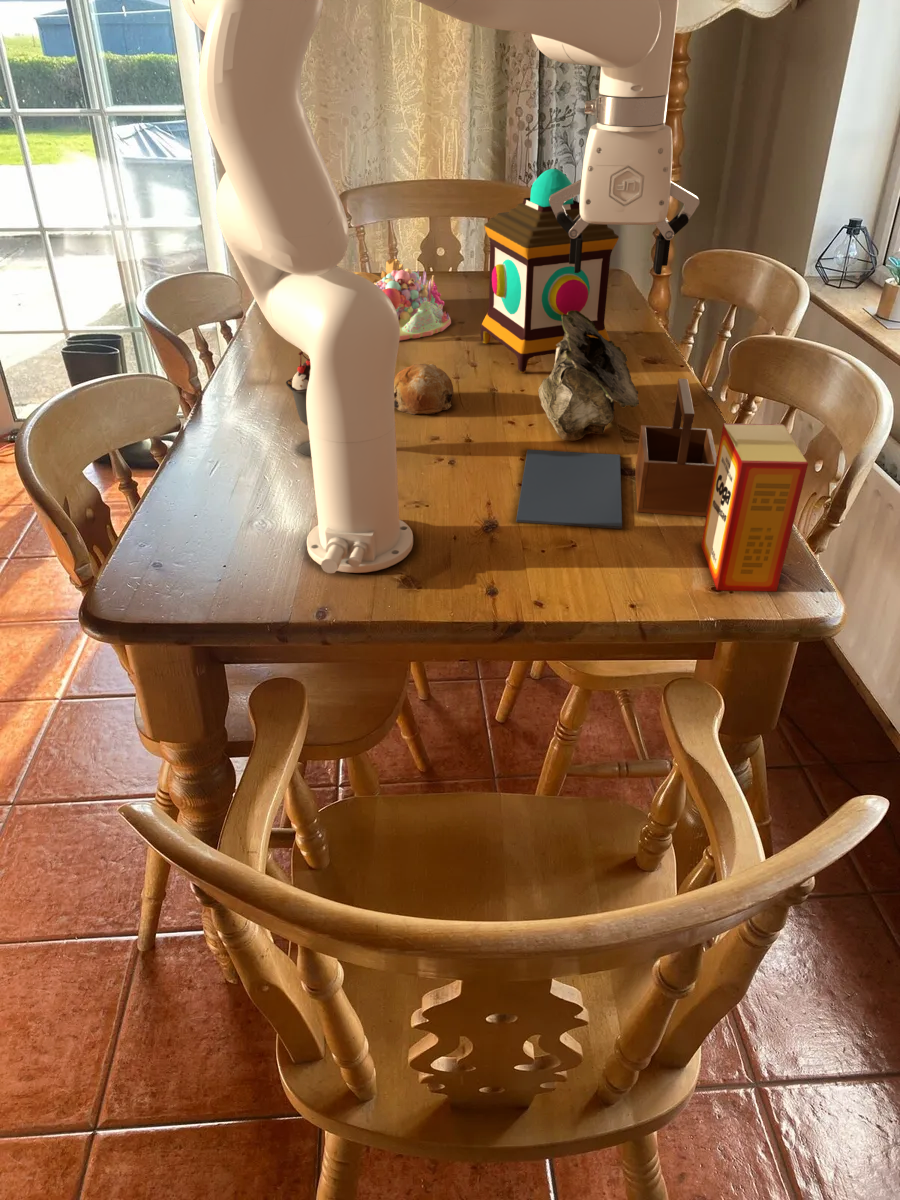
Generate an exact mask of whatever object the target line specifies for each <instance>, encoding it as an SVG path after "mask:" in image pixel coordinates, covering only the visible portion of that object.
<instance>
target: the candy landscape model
mask: <svg viewBox="0 0 900 1200" xmlns="http://www.w3.org/2000/svg"><path fill="white" fill-rule="evenodd" d="M419 270H420V269H417V271H412V269H411V268H409V267H408V268H405V269H404V264H403V263H401V261H400V260H398V259H397V258H389V259H388V260H386V263H385V271H384V270H381V273H380V276H379V275H377V274H376V273H372V272H364V271H352V272H353V273H355V274H357V275H359V276H361V277H364V278H366V279H367V280H369V281H371V282H372V283H374V284H375V285H376V286H378V287H379V288H380V289H381V290H382V291H383V292H384V293H385V294H386V295H387V296H388V297H389V299H390V300H391V302H392V304H393V305H394V307H395V310H396V312H397V315H398V319H399V326H400V339H399V341H406V340H410V339H420V338H423V337H430V336H433V335H434V334H438V333H442V332H443V331H445V330H446V329H447V328H448V327H449V326H450V325H451V324H452V319H451V316H450V315H449V312H447V313H446V311H444V310H443V309H444V306H445V301H444V300H442V299H441V298H440V297H441V296H442V294H441V292H439V291H438V285H437V283H435V275H434V274H432V275H431V278H430V279H429V280H428V279H427V277H428V276H427V271H425V269H423V273H422V275H420V271H419Z"/></svg>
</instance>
